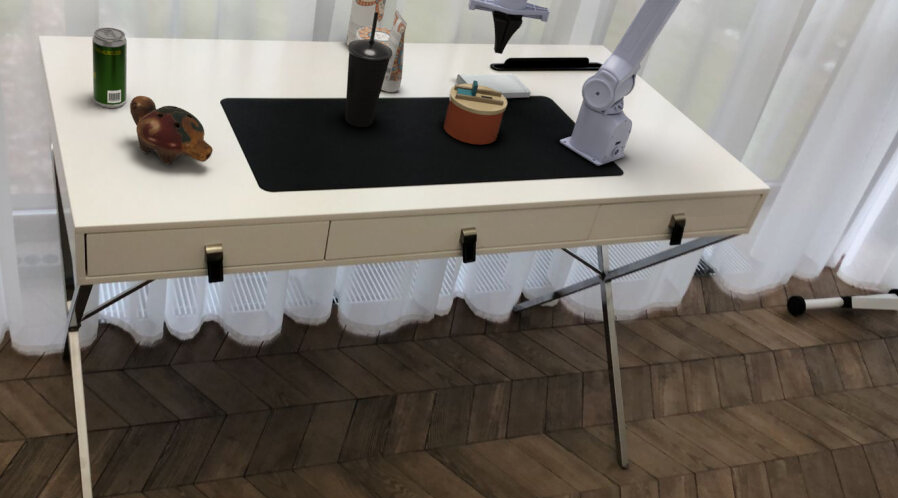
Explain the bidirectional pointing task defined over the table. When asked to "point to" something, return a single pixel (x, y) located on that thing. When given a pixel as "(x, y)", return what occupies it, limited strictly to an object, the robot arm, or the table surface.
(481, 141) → the brown and beige cylinder
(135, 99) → the decorative turtle
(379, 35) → the cosmetic set
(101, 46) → the beer can
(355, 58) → the drinking cup
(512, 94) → the hard drive
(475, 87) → the slider
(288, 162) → the table surface
